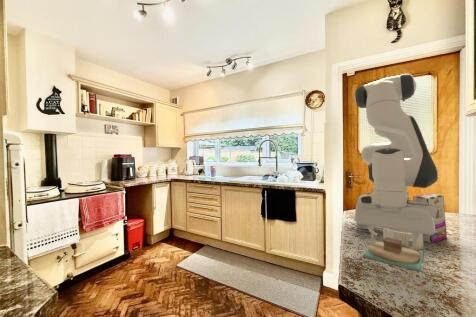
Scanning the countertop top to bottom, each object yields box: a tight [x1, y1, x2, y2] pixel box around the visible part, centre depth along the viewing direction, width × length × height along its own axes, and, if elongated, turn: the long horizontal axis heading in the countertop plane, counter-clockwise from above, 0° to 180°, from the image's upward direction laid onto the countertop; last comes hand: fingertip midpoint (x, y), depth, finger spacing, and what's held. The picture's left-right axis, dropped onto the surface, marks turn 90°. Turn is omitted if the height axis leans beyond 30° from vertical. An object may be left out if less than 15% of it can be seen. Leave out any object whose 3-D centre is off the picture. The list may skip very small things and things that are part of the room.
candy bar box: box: [412, 193, 448, 244], centre depth 77 cm, size 11×5×16 cm, turn 114°
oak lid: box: [368, 237, 420, 263], centre depth 65 cm, size 13×13×4 cm
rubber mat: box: [362, 241, 424, 272], centre depth 65 cm, size 14×14×1 cm
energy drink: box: [355, 201, 370, 233], centre depth 89 cm, size 5×5×12 cm
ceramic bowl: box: [382, 228, 425, 251], centre depth 73 cm, size 11×11×6 cm
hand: (392, 242), depth 65 cm, fingers open, 8 cm apart
